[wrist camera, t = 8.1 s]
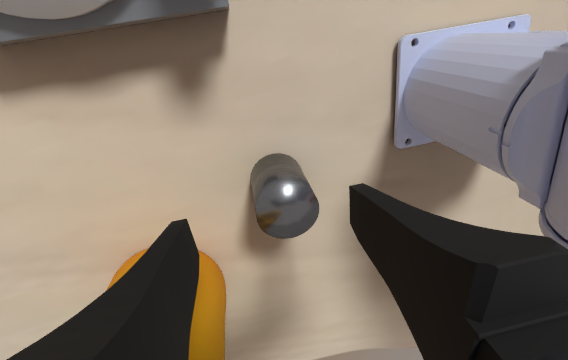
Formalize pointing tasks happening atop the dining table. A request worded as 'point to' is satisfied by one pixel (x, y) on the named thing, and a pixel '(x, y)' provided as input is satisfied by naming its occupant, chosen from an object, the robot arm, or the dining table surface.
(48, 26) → the dial scale
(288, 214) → the cylinder
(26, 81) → the dining table surface
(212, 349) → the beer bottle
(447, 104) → the robot arm
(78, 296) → the dining table surface
